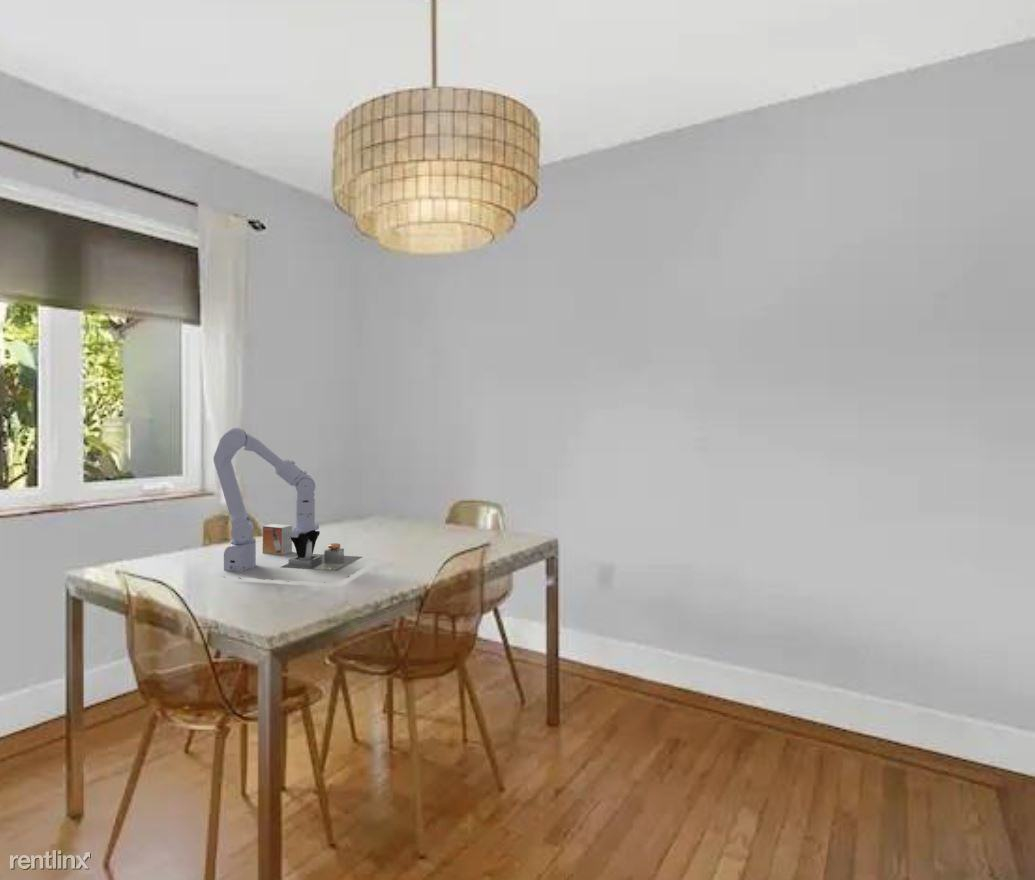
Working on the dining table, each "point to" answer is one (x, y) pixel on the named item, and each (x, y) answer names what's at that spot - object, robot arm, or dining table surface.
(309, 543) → the cylinder
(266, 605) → the dining table surface
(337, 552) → the housing
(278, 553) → the small box
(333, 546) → the plunger
